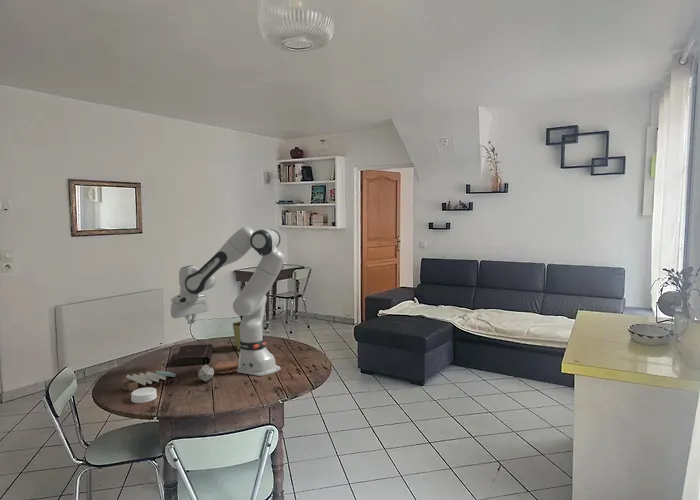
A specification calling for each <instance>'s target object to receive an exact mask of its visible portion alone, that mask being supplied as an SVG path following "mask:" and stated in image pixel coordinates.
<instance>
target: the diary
mask: <svg viewBox="0 0 700 500" xmlns="http://www.w3.org/2000/svg"><path fill="white" fill-rule="evenodd" d="M213 351H214V346H213V344H212V343H211V344H207V343H206V344H189V345H187V344H186V345H181V346H180V347H179V349H178V351H177V352H176V354H175V355H174V357H173V359H174V360H175V364H174V366H173V367H174V368H177V367H187V366H188V367H190V366H196V365H203V364H204V365H210V362H211V360H212V359H211V358H212V355H213ZM207 362H208V364H207Z"/></svg>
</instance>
